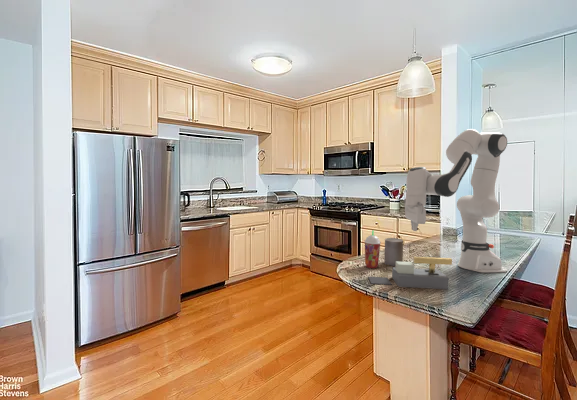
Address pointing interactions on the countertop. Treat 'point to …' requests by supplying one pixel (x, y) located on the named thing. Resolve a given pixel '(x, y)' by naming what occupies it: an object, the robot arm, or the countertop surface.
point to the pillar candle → (393, 251)
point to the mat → (379, 280)
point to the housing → (421, 279)
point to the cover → (404, 267)
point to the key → (432, 262)
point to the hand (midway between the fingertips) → (414, 230)
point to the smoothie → (372, 251)
